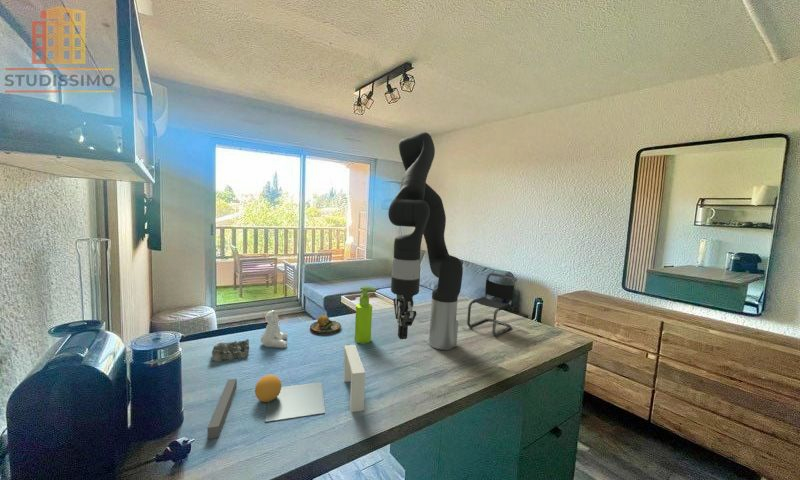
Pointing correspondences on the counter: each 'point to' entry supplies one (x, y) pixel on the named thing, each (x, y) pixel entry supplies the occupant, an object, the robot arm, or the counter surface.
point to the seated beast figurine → (273, 332)
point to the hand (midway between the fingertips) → (402, 337)
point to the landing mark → (296, 402)
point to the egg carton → (223, 350)
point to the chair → (498, 292)
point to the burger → (325, 326)
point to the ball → (268, 388)
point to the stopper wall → (222, 409)
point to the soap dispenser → (363, 318)
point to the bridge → (354, 377)
